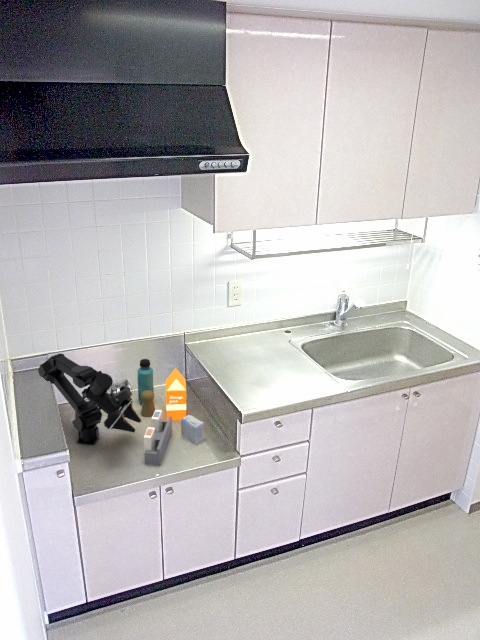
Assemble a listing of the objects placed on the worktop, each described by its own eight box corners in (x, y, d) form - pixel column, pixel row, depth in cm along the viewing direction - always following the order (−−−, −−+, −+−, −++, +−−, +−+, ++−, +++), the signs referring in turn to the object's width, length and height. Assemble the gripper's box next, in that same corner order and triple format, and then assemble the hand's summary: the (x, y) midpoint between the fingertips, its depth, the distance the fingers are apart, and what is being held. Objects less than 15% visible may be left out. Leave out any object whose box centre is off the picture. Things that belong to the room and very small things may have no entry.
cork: (149, 409, 222) (148, 386, 217) (159, 415, 218) (158, 391, 214) (137, 416, 217) (136, 392, 213) (147, 422, 214) (146, 397, 210)
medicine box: (204, 442, 204) (204, 422, 200) (195, 447, 201) (195, 427, 197) (189, 433, 209) (189, 413, 205) (180, 438, 205) (180, 418, 202)
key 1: (144, 461, 191) (143, 436, 186) (148, 450, 196) (147, 426, 192) (151, 461, 190) (150, 437, 186) (155, 451, 196) (154, 427, 192)
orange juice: (166, 423, 214) (165, 378, 205) (166, 410, 222) (165, 367, 213) (186, 422, 215) (186, 378, 206) (185, 410, 223) (185, 366, 214)
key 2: (152, 441, 201) (151, 418, 196) (156, 432, 206) (155, 409, 202) (159, 442, 200) (158, 419, 196) (162, 432, 206) (162, 409, 202)
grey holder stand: (139, 466, 190) (138, 447, 187) (153, 432, 208) (152, 414, 205) (160, 468, 189) (159, 449, 186) (172, 434, 208) (171, 416, 204)
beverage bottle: (149, 397, 230) (147, 355, 222) (157, 404, 226) (156, 361, 217) (135, 402, 226) (133, 359, 218) (143, 409, 222) (141, 366, 214)
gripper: (108, 389, 179) (146, 418, 180) (122, 374, 197) (156, 400, 199) (88, 414, 181) (126, 443, 182) (104, 397, 199) (138, 423, 200)
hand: (137, 426), depth 191 cm, fingers open, 9 cm apart
